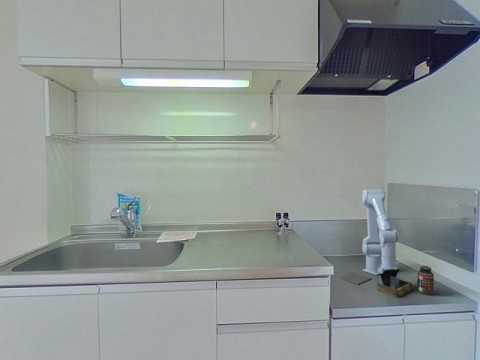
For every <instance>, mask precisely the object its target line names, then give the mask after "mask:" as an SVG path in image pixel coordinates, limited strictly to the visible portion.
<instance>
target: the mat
mask: <svg viewBox="0 0 480 360" xmlns="http://www.w3.org/2000/svg"><path fill="white" fill-rule="evenodd" d="M339 279H341V280H344V281H347V282H349V283H352V284H354V285H357V286H359V285H361V284H363V283H366V282H368V281H370V280H372V278H371V277H368V276H367V275H363V274H360V273H359V272H358V273H357V272H355V271H352V272H349V273H347V274H345V275H342V276H339Z"/></svg>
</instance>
